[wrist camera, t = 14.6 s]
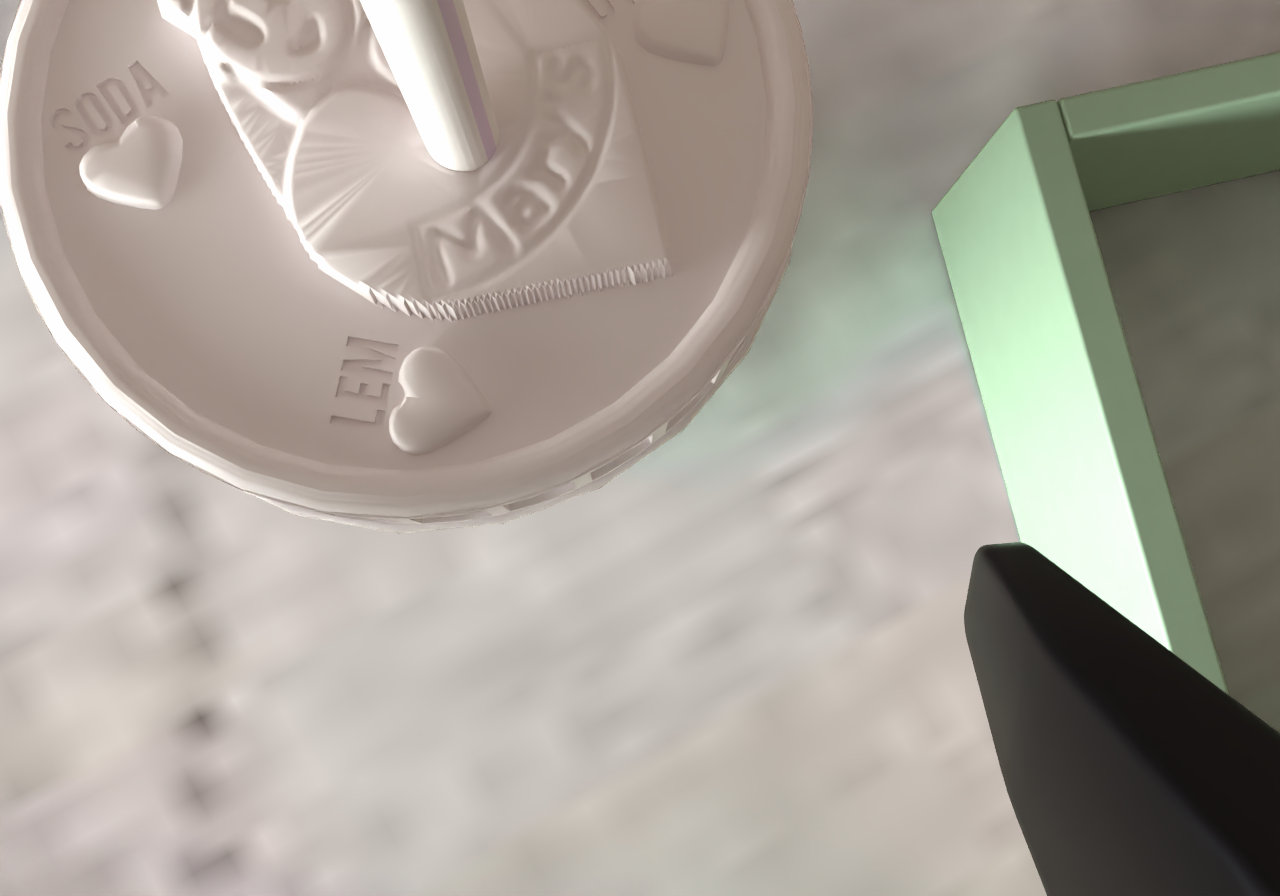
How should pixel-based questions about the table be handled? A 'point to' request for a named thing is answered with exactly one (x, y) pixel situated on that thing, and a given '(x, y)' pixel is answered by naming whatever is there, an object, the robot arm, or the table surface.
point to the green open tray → (1093, 321)
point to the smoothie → (405, 232)
